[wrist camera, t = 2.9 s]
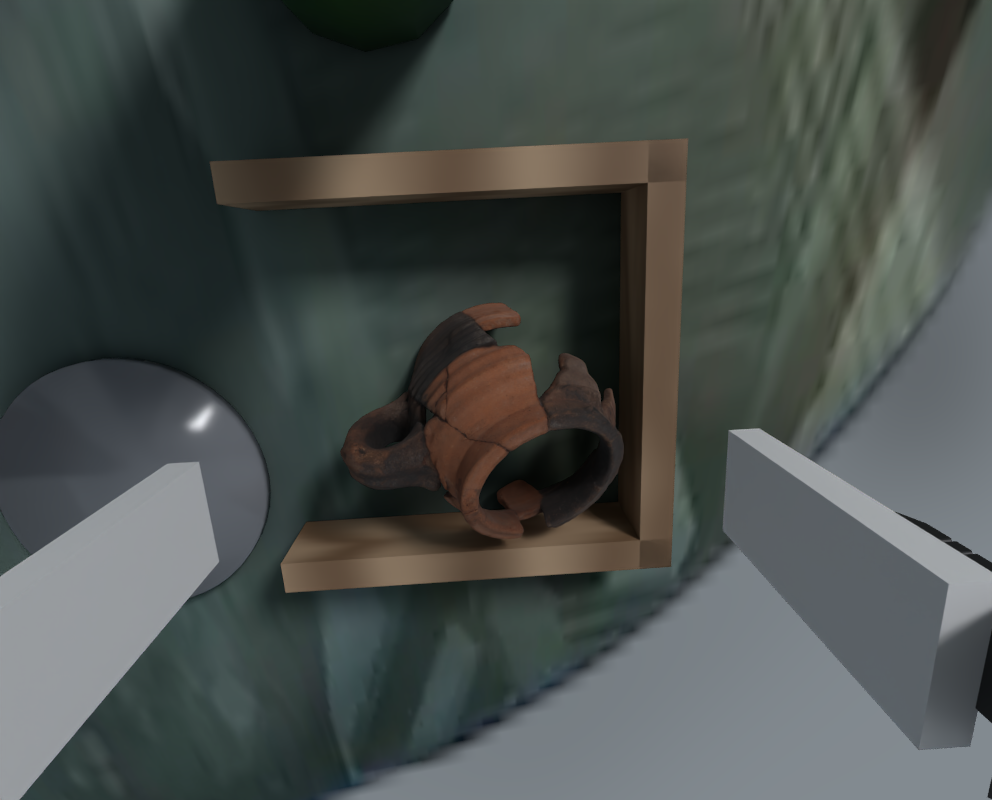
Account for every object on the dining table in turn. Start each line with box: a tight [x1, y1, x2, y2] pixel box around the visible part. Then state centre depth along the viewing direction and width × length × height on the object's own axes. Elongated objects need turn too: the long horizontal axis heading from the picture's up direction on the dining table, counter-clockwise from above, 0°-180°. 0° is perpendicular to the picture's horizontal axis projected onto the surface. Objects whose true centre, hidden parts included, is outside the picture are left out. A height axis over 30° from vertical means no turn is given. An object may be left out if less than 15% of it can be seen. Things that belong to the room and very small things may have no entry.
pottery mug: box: [340, 303, 624, 539], centre depth 25 cm, size 12×9×8 cm
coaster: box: [0, 358, 271, 598], centre depth 28 cm, size 13×13×1 cm
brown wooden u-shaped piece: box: [210, 139, 688, 593], centre depth 25 cm, size 18×18×4 cm
